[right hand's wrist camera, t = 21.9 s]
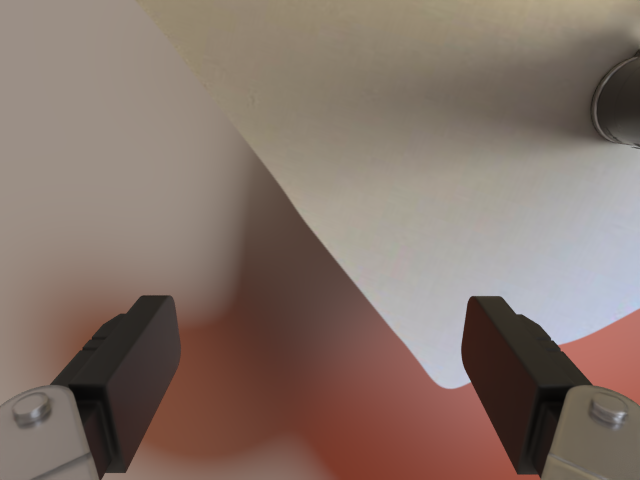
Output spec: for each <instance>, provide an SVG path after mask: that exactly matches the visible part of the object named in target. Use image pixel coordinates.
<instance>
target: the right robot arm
mask: <svg viewBox="0 0 640 480" xmlns="http://www.w3.org/2000/svg"><path fill="white" fill-rule="evenodd" d="M591 116H592V121H593V124H594V126H595V128H596V130H597V131H598V133H599V134H600V135H601V136H602V137H604V138H605V139H607V140H609V141H612V142H615V143H620V144H627V145H634V146H638V147H640V49H639V51H638V52H637V53H636V55H635V56H634V57H633V58H630V59H627V60H625V61H623V62H621V63H620V64H618V65H617V66H615V67H614V68H613V69H612V70H610V71H609V72H608V73H607V75H606V76H605V77H604V78H603V79H602V81H601V82H600V84H599V85H598V87H597V89H596V91H595V94H594V97H593V100H592V106H591ZM632 148H636V147H632ZM637 149H640V148H637ZM180 354H181V344H180V337H179V330H178V323H177V316H176V309H175V303H174V300H173V298H172V296H141V297H140V298H139V299H138V300H137V301H136V303H135V304H134V305H133V306H132V307H131V309H130V310H129V311H128V312H127V313H126V314H119V315H118V316H116V317H114V318H113V319H111V320H110V321H108V322H106V323H105V324H103V325H102V326H101V327H100V329H99V330H98V331H97V332H96V333H95V334H94V335H93V337H92V340H89V341H88V342H87V343H86V344H85V346H84V347H83V350H81V351H79V352H78V353H77V355H76V356H75V357H74V358H73V359H72V360H71V361H70V363H69V364H68V365H67V366H66V367H65V368H64V369H63V370H62V372H61V373H60V374H59V375H58V376H57V377H56V378H55V379H54V381H53V382H52V383H51V384H50V385H47V386H41V387H37V388H34V389H30V390H27V391H25V392H22V393H20V394H18V395H16V396H14V397H12V398H11V399H9V400H8V401H6V402H5V403H3V404H2V405H1V406H0V480H101V479H102V478H103V476H104V474H105V473H126V471H127V469H128V467H129V465H130V463H131V461H132V459H133V457H134V455H135V453H136V451H137V449H138V447H139V445H140V443H141V441H142V439H143V437H144V435H145V433H146V431H147V429H148V427H149V425H150V423H151V420H152V418H153V416H154V414H155V412H156V410H157V408H158V406H159V404H160V402H161V400H162V398H163V396H164V394H165V392H166V390H167V388H168V386H169V384H170V382H171V380H172V378H173V376H174V374H175V372H176V370H177V368H178V365H179V361H180ZM461 354H462V361H463V365H464V368H465V370H466V372H467V374H468V376H469V378H470V380H471V382H472V384H473V386H474V388H475V390H476V392H477V394H478V396H479V398H480V400H481V402H482V404H483V406H484V408H485V410H486V412H487V414H488V416H489V418H490V420H491V422H492V424H493V426H494V428H495V430H496V432H497V434H498V436H499V438H500V440H501V442H502V444H503V446H504V448H505V450H506V452H507V454H508V456H509V458H510V460H511V462H512V464H513V466H514V468H515V470H516V472H517V474H538V475H539V477H540V478H541V480H640V406H639V405H638V404H637V403H635V402H634V401H632V400H631V399H629V398H628V397H626V396H624V395H622V394H620V393H618V392H615V391H613V390H610V389H607V388H603V387H599V386H593V385H592V384H591V382H590V381H589V380H588V379H587V378H586V377H585V376H584V375H583V373H582V372H581V371H580V370H579V369H578V368H577V367H576V366H575V364H574V363H573V362H572V361H571V360H570V359H569V358H568V357H567V356H566V354H565V353H564V352H562V351H560V348H559V347H558V345H557V344H556V343H555V342H554V341H551V338H550V336H549V335H548V334H547V333H546V332H545V331H544V330H543V329H542V327H541V326H540V325H538V324H537V323H535V322H533V321H532V320H530V319H529V318H527V317H525V316H524V315H522V314H516V313H515V312H514V311H513V310H512V309H511V307H510V306H509V305H508V304H507V303H506V301H505V300H504V299H503V298H502V297H500V296H472V297H470V299H469V301H468V305H467V311H466V318H465V325H464V332H463V338H462V346H461Z"/></svg>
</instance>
